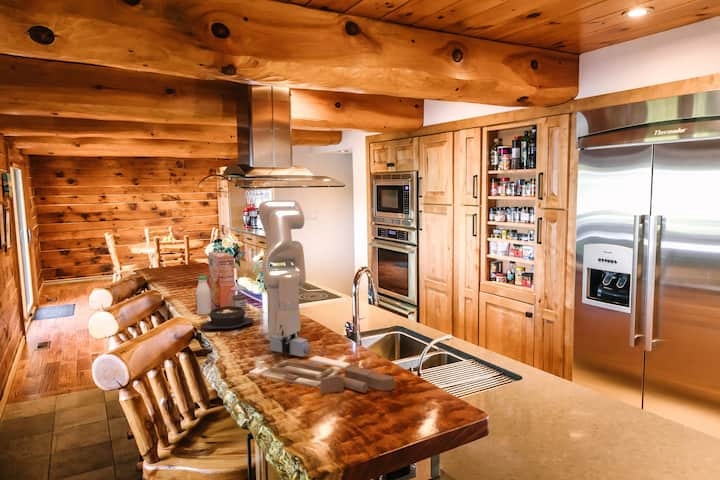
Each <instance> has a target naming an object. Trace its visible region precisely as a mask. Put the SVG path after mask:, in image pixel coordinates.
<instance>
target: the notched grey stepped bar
mask: <svg viewBox="0 0 720 480" xmlns="http://www.w3.org/2000/svg"><path fill="white" fill-rule="evenodd" d="M277 337H278V335H277V334H276V335H274V336H272V337H271V340H270V341H269V343H270V344H269V347H270V348H269V349H270V350H269V351H273V352H277V353H282V354H284V353H283V352H282V343H281V341H280V340H278V339H277ZM284 338H285V339H286V337H284ZM289 344H290V353H289V354H288V355H292V356H297V357H301V358H302V357H305V356H306V355H309V354H310V352H311V347H310V346H309V342H308V339H307V338H303V337H298V338H297V337H296V338H294V339H292V340H289Z"/></svg>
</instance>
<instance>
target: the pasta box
mask: <svg viewBox="0 0 720 480" xmlns="http://www.w3.org/2000/svg"><path fill="white" fill-rule="evenodd" d="M208 278H209V288H210V292H211V307H212V308H213V309H215V308H218V307H225V306H230V305H231V299H233V298H232V294H231V293H233V295H236V293H235V292H236V291H232V290H231V288H232V287H234V286H236V285H235V258H234V255H232V254H230V253H227V252H225V251H212V252H211V251H210V252H208ZM230 294H231V295H230ZM229 296H230V298H229ZM229 301H230V304H229ZM233 302H235V301H233ZM234 305H235V304H234Z"/></svg>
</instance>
